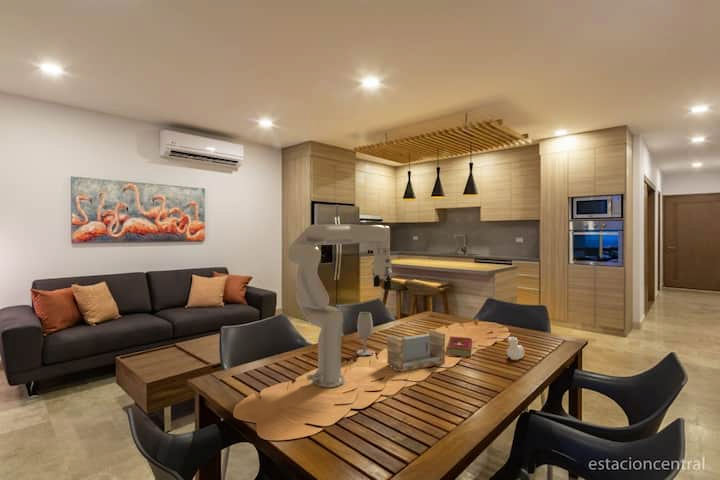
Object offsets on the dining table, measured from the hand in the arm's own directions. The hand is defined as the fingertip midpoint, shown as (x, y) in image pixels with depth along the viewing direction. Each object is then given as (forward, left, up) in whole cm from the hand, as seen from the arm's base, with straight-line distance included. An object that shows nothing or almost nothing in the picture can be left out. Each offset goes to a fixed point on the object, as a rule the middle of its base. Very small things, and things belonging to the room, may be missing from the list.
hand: (381, 288), depth 177 cm
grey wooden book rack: (+15, -7, -36) cm, 40 cm away
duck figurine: (+64, -22, -37) cm, 77 cm away
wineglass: (0, +17, -36) cm, 40 cm away
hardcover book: (+49, +1, -37) cm, 62 cm away
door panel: (+15, -7, -35) cm, 39 cm away
